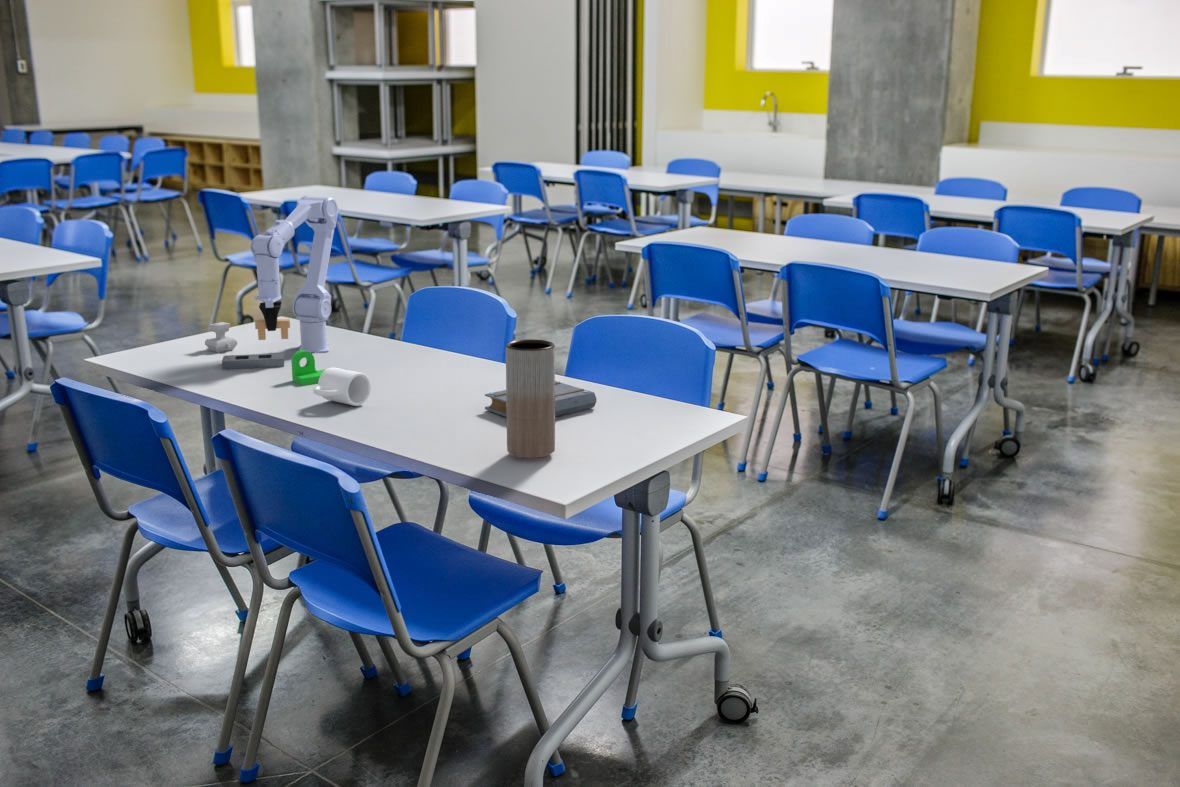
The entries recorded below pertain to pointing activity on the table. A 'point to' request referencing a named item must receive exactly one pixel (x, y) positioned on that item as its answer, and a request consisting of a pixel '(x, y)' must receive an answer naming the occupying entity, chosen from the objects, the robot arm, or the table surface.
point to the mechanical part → (305, 369)
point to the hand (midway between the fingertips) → (271, 329)
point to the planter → (530, 398)
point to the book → (565, 400)
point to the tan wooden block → (281, 323)
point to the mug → (343, 386)
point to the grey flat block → (253, 361)
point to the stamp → (220, 338)
